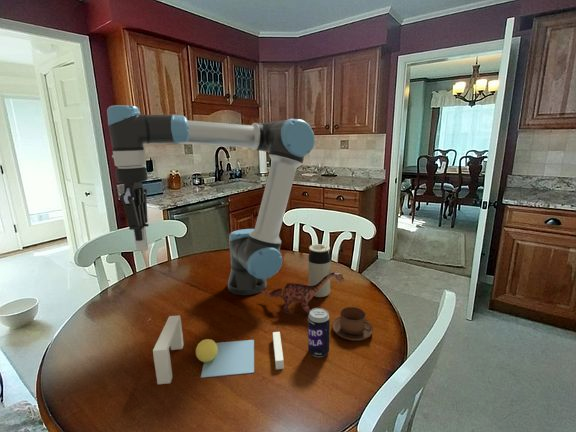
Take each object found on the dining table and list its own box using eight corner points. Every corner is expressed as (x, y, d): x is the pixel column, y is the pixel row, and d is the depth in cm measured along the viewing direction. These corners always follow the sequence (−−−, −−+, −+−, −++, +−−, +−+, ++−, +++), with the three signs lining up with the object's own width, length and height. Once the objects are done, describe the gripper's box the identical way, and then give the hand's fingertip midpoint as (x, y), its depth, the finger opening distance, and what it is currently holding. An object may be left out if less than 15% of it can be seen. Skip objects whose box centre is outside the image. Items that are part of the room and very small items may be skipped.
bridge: (183, 344, 89) (180, 315, 87) (170, 383, 75) (166, 349, 73) (172, 345, 89) (169, 316, 86) (157, 384, 75) (152, 350, 72)
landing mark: (253, 340, 90) (253, 339, 90) (254, 372, 78) (254, 372, 78) (208, 344, 89) (208, 343, 89) (200, 377, 76) (200, 377, 76)
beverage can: (306, 346, 87) (306, 307, 84) (326, 344, 88) (327, 306, 85) (309, 360, 82) (309, 319, 79) (331, 358, 82) (331, 318, 79)
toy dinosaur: (342, 323, 98) (343, 279, 94) (253, 311, 105) (251, 270, 102) (344, 309, 106) (346, 268, 102) (261, 299, 113) (260, 260, 110)
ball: (193, 346, 84) (211, 356, 86) (189, 360, 79) (208, 370, 80) (205, 331, 84) (223, 341, 85) (202, 344, 78) (220, 354, 79)
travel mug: (305, 295, 115) (305, 249, 111) (312, 286, 122) (312, 242, 118) (326, 299, 112) (327, 252, 108) (332, 289, 119) (332, 245, 115)
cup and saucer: (374, 324, 97) (375, 306, 96) (371, 348, 86) (372, 328, 85) (336, 317, 101) (336, 300, 99) (328, 340, 90) (328, 321, 88)
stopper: (279, 339, 90) (279, 331, 90) (283, 368, 79) (283, 360, 78) (273, 339, 90) (272, 332, 90) (275, 369, 79) (275, 360, 78)
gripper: (125, 165, 89) (137, 243, 95) (104, 169, 77) (119, 259, 82) (152, 164, 90) (162, 242, 96) (136, 168, 77) (148, 257, 83)
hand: (142, 250), depth 89 cm, fingers closed
